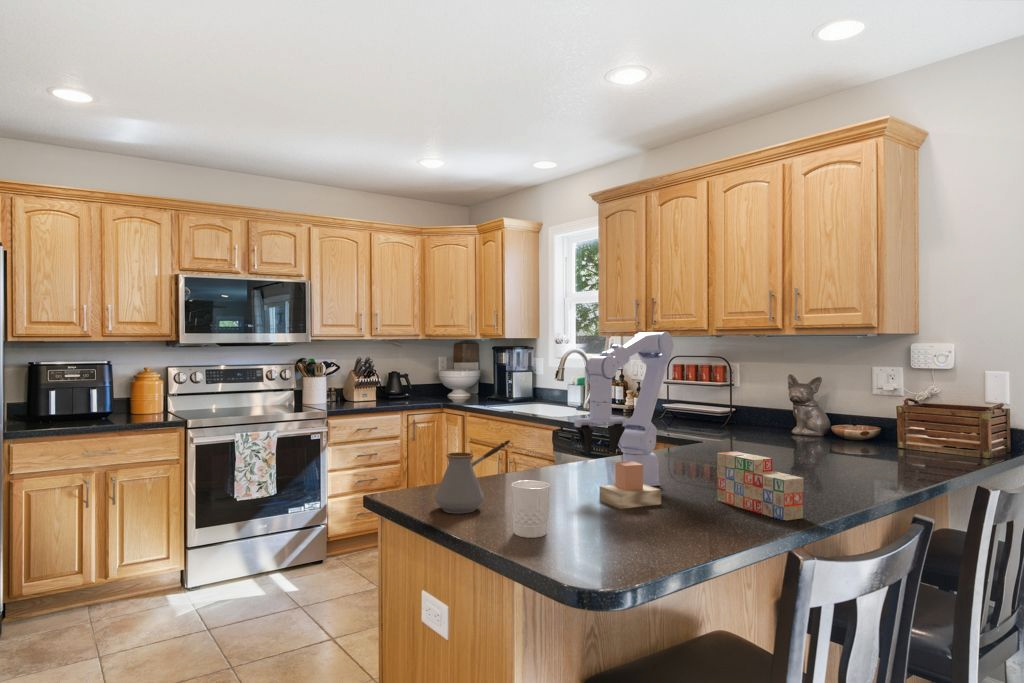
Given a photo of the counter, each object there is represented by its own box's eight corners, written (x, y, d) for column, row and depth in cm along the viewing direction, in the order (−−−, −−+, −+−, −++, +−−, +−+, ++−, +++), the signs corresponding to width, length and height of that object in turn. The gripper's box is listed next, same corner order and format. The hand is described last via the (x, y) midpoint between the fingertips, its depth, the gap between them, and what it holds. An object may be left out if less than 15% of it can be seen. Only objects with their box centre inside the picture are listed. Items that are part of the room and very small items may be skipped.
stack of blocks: (804, 519, 144) (804, 464, 145) (783, 521, 142) (783, 466, 142) (735, 498, 164) (735, 450, 164) (716, 500, 161) (716, 451, 162)
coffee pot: (452, 518, 142) (453, 450, 142) (425, 508, 150) (425, 444, 151) (525, 504, 155) (526, 442, 155) (496, 495, 164) (497, 437, 164)
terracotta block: (633, 485, 162) (633, 461, 162) (642, 489, 157) (643, 464, 157) (615, 486, 160) (615, 462, 160) (624, 490, 155) (624, 465, 155)
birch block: (639, 497, 165) (639, 482, 165) (661, 506, 157) (661, 489, 157) (599, 502, 160) (599, 486, 160) (619, 510, 152) (620, 493, 152)
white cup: (520, 540, 126) (520, 489, 126) (504, 530, 133) (505, 482, 133) (556, 536, 129) (556, 486, 129) (539, 526, 136) (539, 479, 136)
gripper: (583, 403, 162) (583, 457, 162) (632, 402, 167) (632, 454, 167) (570, 401, 168) (570, 453, 168) (618, 400, 174) (617, 450, 174)
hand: (600, 453), depth 168 cm, fingers open, 7 cm apart
